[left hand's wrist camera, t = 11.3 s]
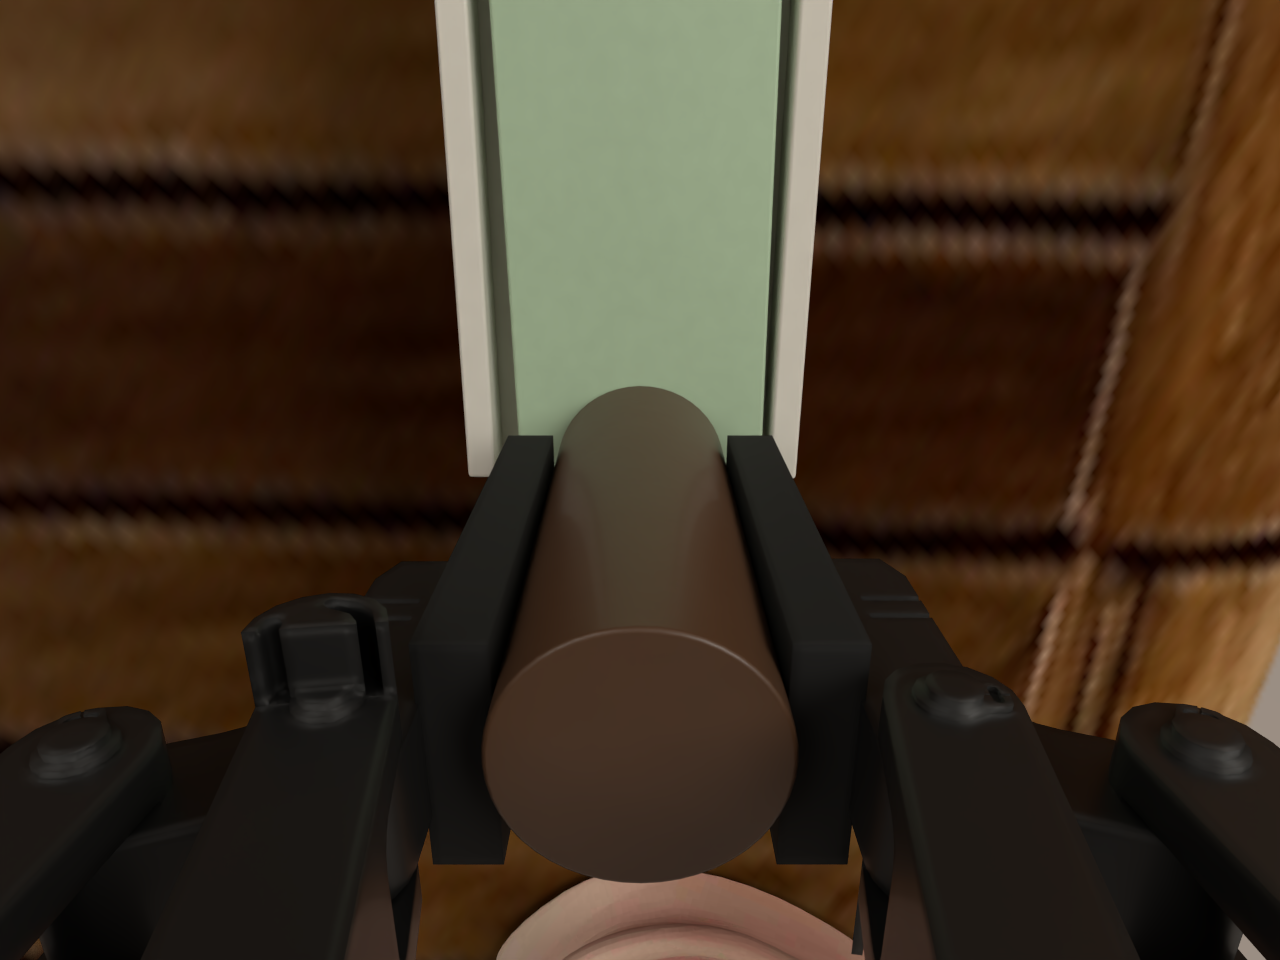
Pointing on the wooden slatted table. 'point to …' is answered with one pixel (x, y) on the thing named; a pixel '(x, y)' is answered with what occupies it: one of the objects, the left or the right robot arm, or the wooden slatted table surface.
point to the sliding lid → (638, 432)
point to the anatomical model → (673, 925)
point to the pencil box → (484, 232)
